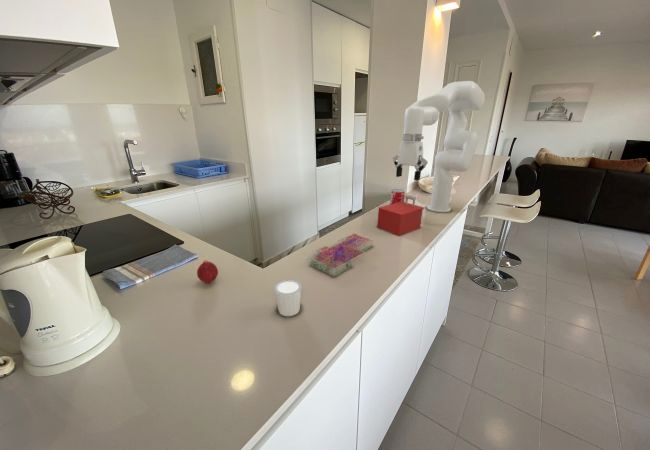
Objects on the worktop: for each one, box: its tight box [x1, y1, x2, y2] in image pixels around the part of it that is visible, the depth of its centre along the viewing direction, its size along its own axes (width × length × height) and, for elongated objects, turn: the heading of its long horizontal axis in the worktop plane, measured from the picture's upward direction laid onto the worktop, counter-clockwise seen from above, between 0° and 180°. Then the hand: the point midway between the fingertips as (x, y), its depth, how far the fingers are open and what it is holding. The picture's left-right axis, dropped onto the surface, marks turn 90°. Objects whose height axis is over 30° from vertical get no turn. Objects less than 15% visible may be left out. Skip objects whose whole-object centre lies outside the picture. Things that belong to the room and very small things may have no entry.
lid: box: [378, 194, 425, 216], centre depth 125 cm, size 16×13×5 cm
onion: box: [196, 259, 219, 284], centre depth 84 cm, size 6×6×8 cm
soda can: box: [389, 188, 406, 205], centre depth 144 cm, size 7×7×13 cm
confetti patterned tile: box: [305, 232, 374, 277], centre depth 102 cm, size 30×15×5 cm, turn 137°
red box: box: [376, 208, 424, 236], centre depth 127 cm, size 16×13×9 cm
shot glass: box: [274, 279, 302, 317], centre depth 72 cm, size 7×7×7 cm
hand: (407, 178), depth 124 cm, fingers open, 9 cm apart
